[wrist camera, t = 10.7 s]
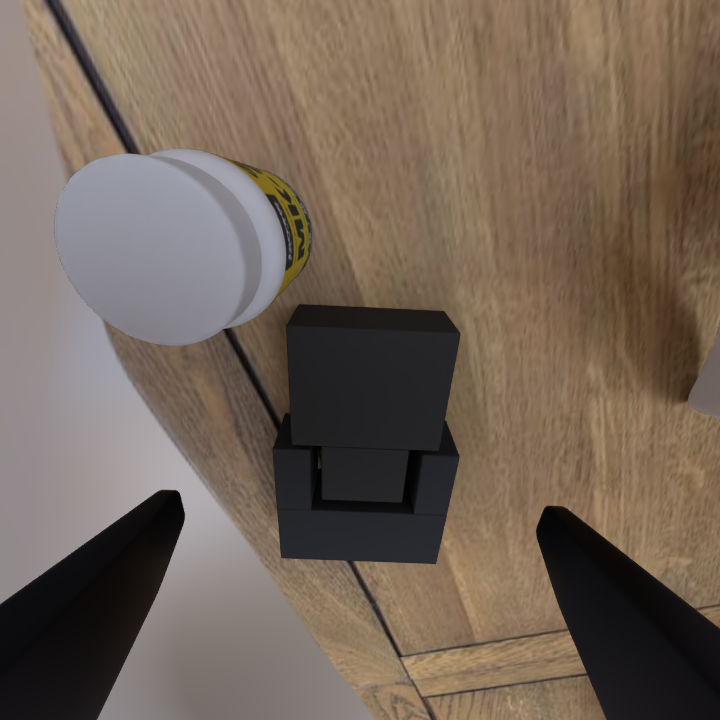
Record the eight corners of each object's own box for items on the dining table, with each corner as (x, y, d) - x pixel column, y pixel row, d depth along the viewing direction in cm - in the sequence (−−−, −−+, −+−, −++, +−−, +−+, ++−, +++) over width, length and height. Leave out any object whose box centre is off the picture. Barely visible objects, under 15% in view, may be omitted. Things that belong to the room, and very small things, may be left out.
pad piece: (303, 459, 20) (294, 499, 18) (298, 304, 16) (285, 324, 13) (420, 463, 20) (429, 504, 18) (444, 310, 16) (461, 333, 14)
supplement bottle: (335, 248, 15) (308, 299, 7) (253, 304, 16) (157, 397, 9) (266, 141, 13) (140, 65, 6) (180, 211, 14) (-21, 225, 7)
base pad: (290, 514, 22) (280, 558, 20) (285, 413, 19) (272, 448, 16) (427, 520, 22) (436, 564, 20) (446, 420, 19) (460, 456, 16)
